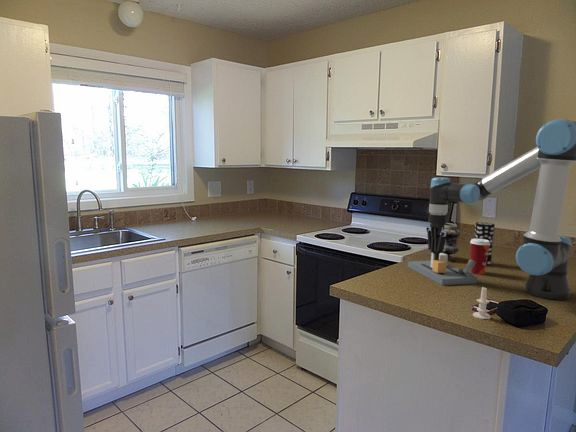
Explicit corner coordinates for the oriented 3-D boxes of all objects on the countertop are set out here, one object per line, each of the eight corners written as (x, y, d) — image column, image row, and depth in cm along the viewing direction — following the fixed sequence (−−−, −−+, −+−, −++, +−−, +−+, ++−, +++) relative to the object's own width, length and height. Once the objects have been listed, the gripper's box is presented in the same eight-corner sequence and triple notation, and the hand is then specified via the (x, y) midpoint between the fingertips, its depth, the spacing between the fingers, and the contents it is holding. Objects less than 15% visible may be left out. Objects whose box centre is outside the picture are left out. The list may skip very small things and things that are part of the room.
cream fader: (447, 264, 188) (447, 255, 188) (439, 265, 188) (439, 255, 187) (442, 262, 192) (442, 252, 192) (434, 262, 191) (434, 253, 191)
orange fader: (446, 272, 176) (446, 262, 175) (437, 272, 175) (438, 262, 174) (440, 269, 180) (441, 259, 179) (432, 270, 179) (433, 260, 178)
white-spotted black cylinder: (473, 265, 200) (477, 224, 197) (470, 261, 208) (474, 221, 205) (492, 266, 198) (496, 225, 195) (488, 262, 206) (492, 222, 203)
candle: (488, 314, 138) (491, 284, 137) (492, 320, 133) (495, 289, 132) (471, 312, 139) (474, 282, 138) (474, 318, 134) (477, 287, 133)
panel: (476, 283, 172) (477, 272, 171) (441, 285, 168) (442, 274, 168) (438, 265, 199) (438, 256, 198) (407, 266, 195) (408, 257, 195)
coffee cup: (489, 275, 183) (492, 242, 181) (469, 274, 185) (472, 241, 182) (484, 270, 191) (487, 238, 189) (465, 269, 193) (468, 237, 190)
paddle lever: (468, 276, 172) (476, 262, 172) (465, 275, 172) (474, 260, 172) (463, 274, 175) (471, 260, 175) (460, 272, 175) (469, 258, 175)
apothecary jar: (460, 262, 205) (463, 226, 202) (435, 261, 207) (437, 225, 204) (454, 256, 217) (457, 222, 214) (430, 255, 219) (433, 221, 216)
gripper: (455, 215, 172) (450, 271, 175) (437, 211, 184) (433, 263, 188) (438, 216, 170) (434, 271, 174) (422, 211, 183) (418, 263, 186)
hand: (434, 267), depth 181 cm, fingers closed
